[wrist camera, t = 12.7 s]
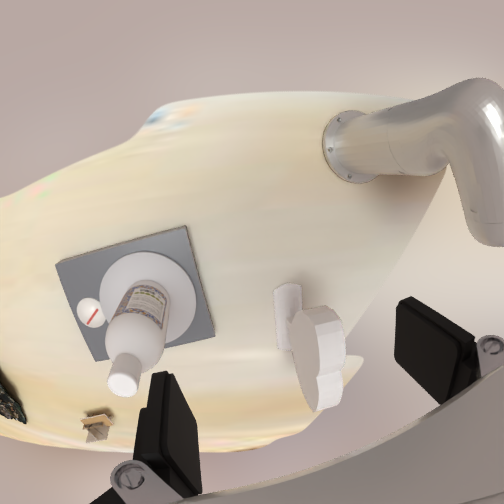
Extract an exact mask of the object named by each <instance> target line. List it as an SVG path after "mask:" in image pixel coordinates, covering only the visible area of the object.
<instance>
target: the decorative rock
mask: <svg viewBox="0 0 504 504" xmlns="http://www.w3.org/2000/svg"><path fill="white" fill-rule="evenodd" d="M0 415H2V416H5V417H6V418H7V419H11V420H12V419H13V418H14V419H15V420H18V421H20V422H22V423H24V424H26V419H25V417H24V416H23V413H22V411H21V407H20V406H19V403H17V401H16V402H15V401H14V399H13V398H11V397H10V396H9V394H8V392H7V391H6V389H5V388H3V387H2V385H1V383H0Z"/></svg>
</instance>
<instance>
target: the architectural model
mask: <svg viewBox="0 0 504 504" xmlns="http://www.w3.org/2000/svg"><path fill="white" fill-rule="evenodd" d="M111 418H112V416H109V417H107V416H106V415H105V414H102V415H95V414H93V416H92V417H89V416H88V415H87V417H86V418H82V419H80V420H81V421H82V423H83V424H84V426H83V429H84V427H85V429H87V430H88V431H89V433H88V436H87V440H86V443H89V442H96V441H102V440H107V436H108V431H109V427H110V426H111V425H113V423H112V422H111Z"/></svg>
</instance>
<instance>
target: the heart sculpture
mask: <svg viewBox="0 0 504 504" xmlns="http://www.w3.org/2000/svg"><path fill="white" fill-rule="evenodd" d="M273 296H274V308H275V321H276V334H277V347H278V349H280V350H286V351H291V350H292V353H293V358H294V363H295V367H296V372H297V376H298V379H299V382H300V386H301V389H302V392H303V394H304V397H305V399H306V401H307V403H308V405H309V407H310V408H311V410H312V411H313V412H316V411H320V410H323V409H326V408H329V407H332V406H336V405H338V404H339V402H340V400H341V396H342V392H343V379H342V374H341V370H342V368H343V367H344V365H345V360H346V346H345V335H344V329H343V325H342V322H341V319H340V317H339V316H338V315H337V314H336V312H335V311H334V310H333V309H331V308H329V307H327V306H326V305H325V306H320V307H316V308H311V309H306V310H302V286H300V285H297V284H293V283H286V284H283V285H281V286H280V287H278V288H277V289H275V290H274V291H273Z"/></svg>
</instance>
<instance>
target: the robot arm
mask: <svg viewBox="0 0 504 504" xmlns="http://www.w3.org/2000/svg"><path fill="white" fill-rule="evenodd" d="M337 120H338V122H337ZM328 149H329V152H328ZM323 150H324V155H325V158H326V160H327V162H328V164H329V166H330V167H331V169H332V170H333V171H334V172H335V173H336V174H337V175H338V176H339V177H340V178H342V179H344V180H346V181H348V182H352V183H366V182H369V181H371V180H373V179H374V178H376V177H377V176H378V175H379V174H385V175H413V176H430V175H433V174H436V173H438V172H440V171H441V170H442V169H444V168H445V167H446V166H447V165H448V164H449V163H450V166H451V169H452V172H453V175H454V177H455V180H456V184H457V187H458V191H459V195H460V199H461V203H462V207H463V210H464V215H465V219H466V222H467V226H468V228H469V231H470V233H471V234H472V236H473V237H474V238H475V239H476V240H477V241H478V242H480V243H482V244H484V245H487V246H492V247H504V90H503V88H502V87H501V86H499V85H498V84H497V83H495V82H494V81H492V80H489V79H486V78H473V79H468V80H465V81H462V82H459V83H457V84H455V85H453V86H451V87H449V88H446V89H445V90H442V91H440V92H438V93H435V94H433V95H431V96H428V97H425V98H422V99H418V100H415V101H412V102H408V103H404V104H401V105H397V106H393V107H390V108H386V109H383V110H379V111H376V112H372V113H369V114H365V113H362V112H359V111H345V112H342V113H340V114H338V115H336V116H335V117H333V118H332V119H331V120H330V122H329V123H328V125H327V126H326V129H325V131H324V136H323ZM347 176H348V177H347ZM474 339H475V337H474V336H473V335H472V334H470V333H469V332H467V331H465V330H464V329H462V328H461V327H460V326H458V325H457V324H455V323H453V322H452V321H450V320H449V319H447V318H446V317H444V316H442V315H441V314H439V313H438V312H436V311H435V310H433V309H431V308H430V307H428V306H427V305H425V304H423V303H422V302H420V301H418V300H417V299H415V298H414V297H412V296H411V297H408V298H405V299H403V300H401V301H399V304H398V306H397V307H396V329H395V349H394V357H395V360H396V362H397V363H398V364H399V365H400V366H401V367H402V368H404V369H405V371H406V372H407V373H408V374H409V375H410V376H411V377H412V378H413V379H415V381H417V383H418V384H420V385H421V387H423V388H424V389H425V390H426V391H427V392H428V393H429V394H430V395H431V396H432V397H433V398H434V399H435V400H436V401H437V402H438V403H439V404H440V406H439V407H437V408H435V409H434V410H432V411H431V412H429V413H427V414H426V415H424V416H422V417H421V418H419V419H417V420H415V421H413V422H412V423H410V424H408V425H406V426H404V427H403V428H401V429H399V430H397V431H395V432H393V433H391V434H390V435H387V436H385V437H383V438H381V439H379V440H377V441H375V442H373V443H371V444H369V445H366V446H364V447H362V448H360V449H357V450H355V451H353V452H350V453H348V454H345V455H343V456H340V457H338V458H335V459H333V460H330V461H327V462H325V463H322V464H319V465H317V466H314V467H311V468H308V469H305V470H302V471H299V472H295V473H292V474H289V475H285V476H282V477H278V478H274V479H271V480H267V481H263V482H259V483H256V484H251V485H247V486H242V487H238V488H233V489H228V490H223V491H218V492H213V493H209V494H203V495H198V494H202V482H201V471H200V460H199V445H198V430H197V423H196V420H195V418H194V416H193V414H192V412H191V410H190V408H189V406H188V404H187V402H186V400H185V398H184V395H183V393H182V391H181V389H180V387H179V385H178V383H177V381H176V378H175V376H174V375H173V374H169V373H168V372H167V371H163V372H157V373H153V374H152V377H151V383H150V389H149V396H148V402H147V408H142V409H141V410H140V414H139V420H138V426H137V433H136V439H135V446H134V454H133V460H129V461H124V462H122V463H120V464H119V465H118V466H116V467H115V468H114V470H113V471H112V473H111V477H110V481H111V485H112V487H111V488H110V489H109V490H108V491H106V492H105V493H104V494H102V495H101V496H99V497H98V498H97V499H95V500H94V501H93V502H91V503H90V504H504V340H503V338H501V337H499V336H495V335H488V336H484V337H481V338H480V339H479V340H478V342H477V343H476V342H474Z"/></svg>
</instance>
